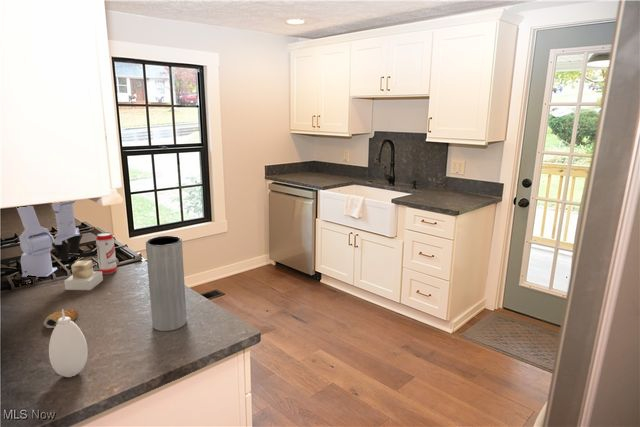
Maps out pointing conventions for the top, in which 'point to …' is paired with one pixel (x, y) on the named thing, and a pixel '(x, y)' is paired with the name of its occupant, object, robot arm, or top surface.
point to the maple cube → (82, 269)
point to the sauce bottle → (67, 348)
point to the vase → (166, 282)
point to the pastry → (53, 318)
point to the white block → (84, 282)
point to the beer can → (106, 253)
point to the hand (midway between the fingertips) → (70, 257)
